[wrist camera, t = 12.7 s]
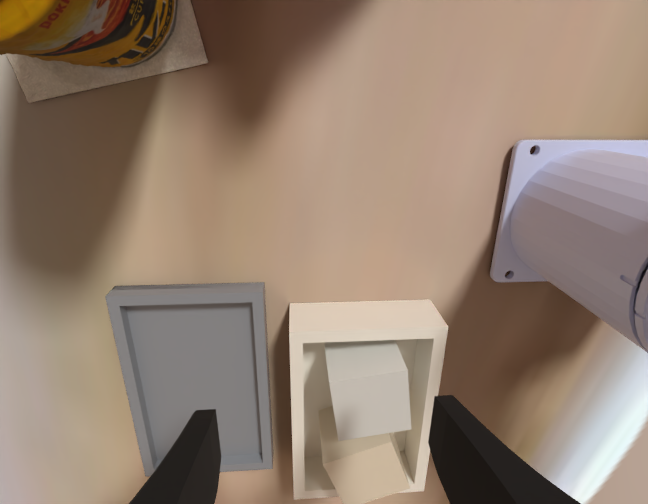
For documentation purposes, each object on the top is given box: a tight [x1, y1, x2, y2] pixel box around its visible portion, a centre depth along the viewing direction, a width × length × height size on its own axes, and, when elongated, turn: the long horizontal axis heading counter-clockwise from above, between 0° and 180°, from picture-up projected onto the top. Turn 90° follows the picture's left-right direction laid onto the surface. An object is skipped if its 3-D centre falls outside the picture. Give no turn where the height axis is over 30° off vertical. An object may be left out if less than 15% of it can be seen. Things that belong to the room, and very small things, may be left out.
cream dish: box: [289, 299, 448, 500], centre depth 24 cm, size 8×12×3 cm
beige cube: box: [319, 406, 410, 504], centre depth 24 cm, size 4×4×4 cm
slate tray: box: [105, 282, 273, 476], centre depth 24 cm, size 8×13×1 cm, turn 0°
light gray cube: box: [324, 340, 411, 441], centre depth 22 cm, size 4×4×4 cm
